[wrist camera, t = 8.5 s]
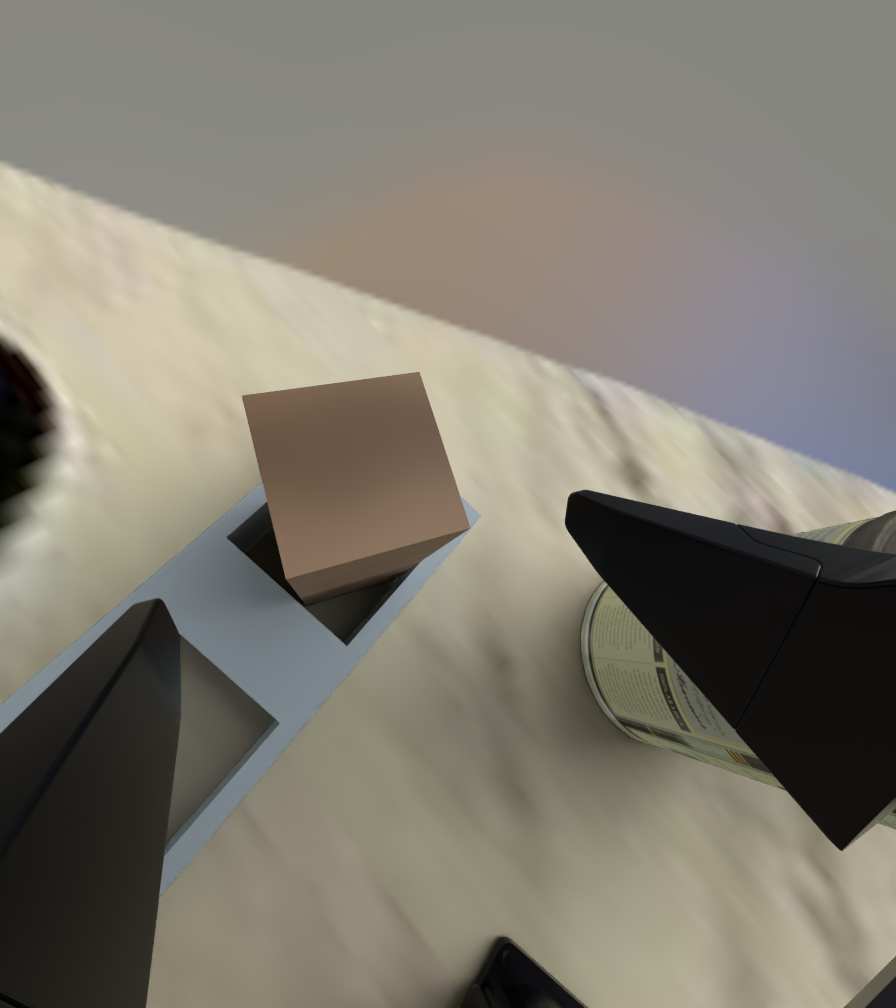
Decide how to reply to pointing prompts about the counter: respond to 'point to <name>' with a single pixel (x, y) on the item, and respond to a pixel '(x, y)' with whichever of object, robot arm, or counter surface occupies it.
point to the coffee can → (666, 688)
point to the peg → (353, 481)
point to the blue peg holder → (245, 647)
